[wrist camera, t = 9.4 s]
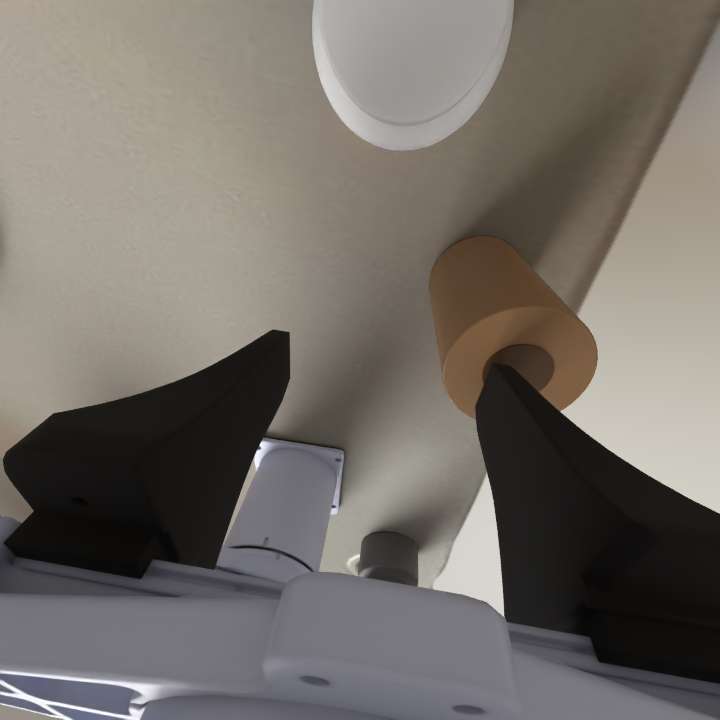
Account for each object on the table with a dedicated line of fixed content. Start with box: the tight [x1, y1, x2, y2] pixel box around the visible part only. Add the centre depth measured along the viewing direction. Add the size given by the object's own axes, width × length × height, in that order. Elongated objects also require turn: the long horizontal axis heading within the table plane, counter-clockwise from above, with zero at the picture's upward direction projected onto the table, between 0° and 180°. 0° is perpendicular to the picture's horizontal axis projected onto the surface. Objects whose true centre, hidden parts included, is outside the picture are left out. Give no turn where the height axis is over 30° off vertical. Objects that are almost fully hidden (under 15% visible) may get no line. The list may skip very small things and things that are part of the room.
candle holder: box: [358, 532, 418, 587], centre depth 27 cm, size 6×6×25 cm
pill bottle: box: [312, 0, 514, 151], centre depth 11 cm, size 5×5×10 cm
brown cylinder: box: [429, 236, 598, 419], centre depth 16 cm, size 5×5×9 cm
